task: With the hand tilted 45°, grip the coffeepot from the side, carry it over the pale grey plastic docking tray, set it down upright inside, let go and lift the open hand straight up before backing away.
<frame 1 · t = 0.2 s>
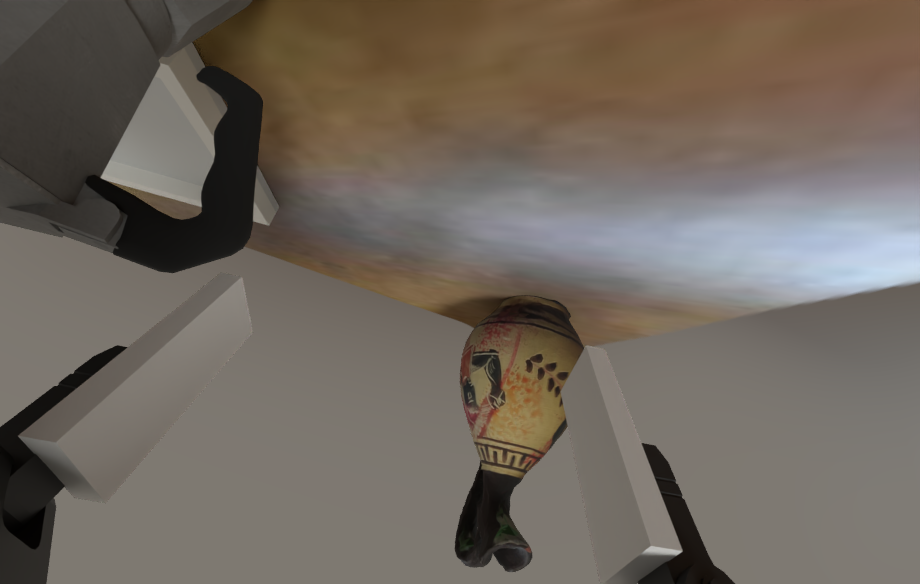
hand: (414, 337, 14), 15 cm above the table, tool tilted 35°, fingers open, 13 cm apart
ceramic jug: (527, 309, 48), on the table
docking tray: (91, 100, 28), on the table
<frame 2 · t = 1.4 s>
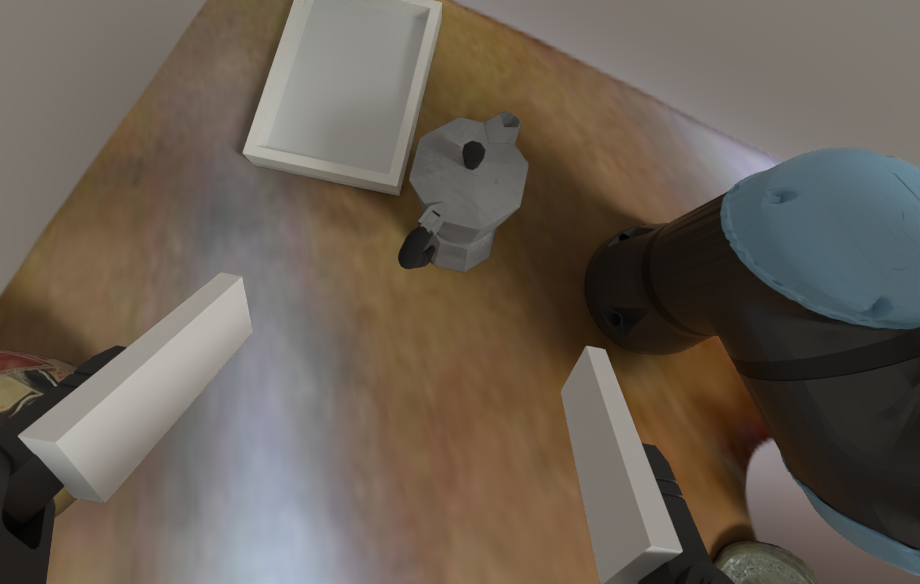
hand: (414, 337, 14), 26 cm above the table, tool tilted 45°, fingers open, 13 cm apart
coffeepot: (451, 242, 42), on the table
ceramic jug: (72, 424, 35), on the table
docking tray: (353, 88, 44), on the table
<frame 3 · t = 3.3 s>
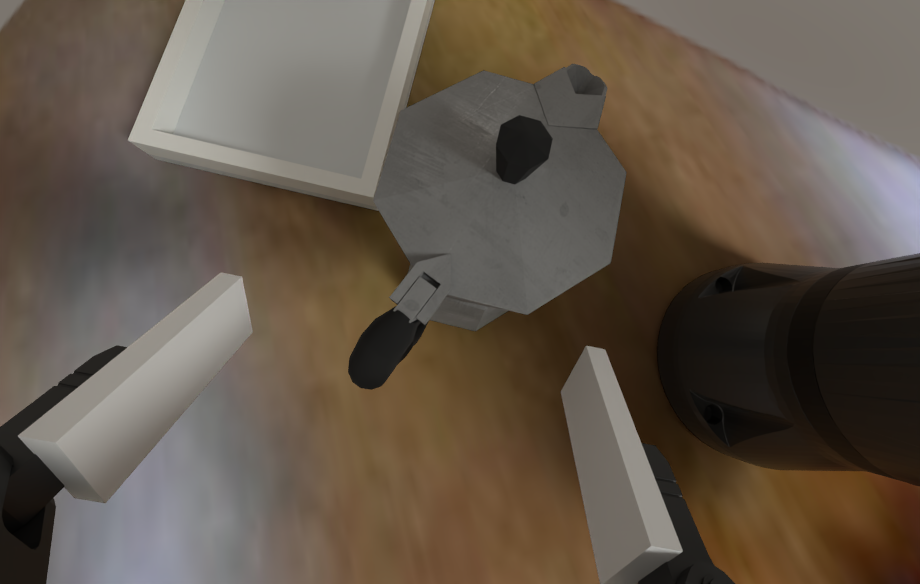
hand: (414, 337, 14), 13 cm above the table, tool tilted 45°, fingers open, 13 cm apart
coffeepot: (457, 283, 27), on the table
docking tray: (313, 47, 29), on the table
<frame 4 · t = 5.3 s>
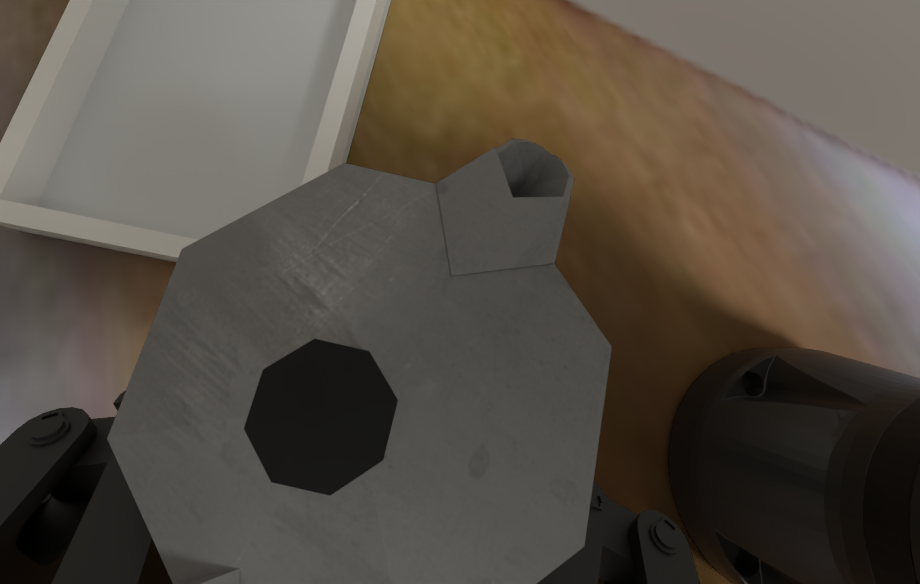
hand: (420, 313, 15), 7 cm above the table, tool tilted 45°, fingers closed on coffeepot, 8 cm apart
coffeepot: (411, 381, 21), on the table, touching gripper
docking tray: (232, 82, 24), on the table
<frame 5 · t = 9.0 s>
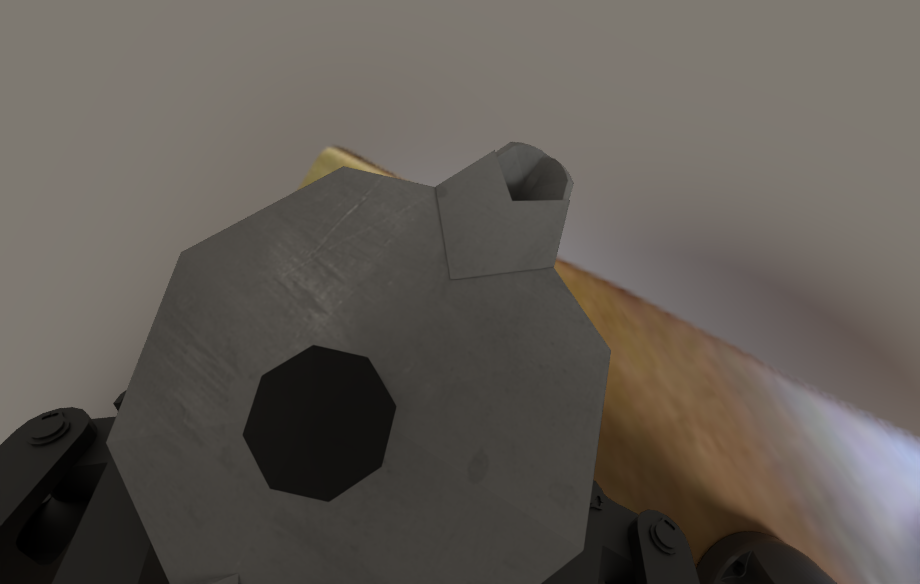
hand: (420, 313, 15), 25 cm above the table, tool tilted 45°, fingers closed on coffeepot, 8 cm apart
coffeepot: (411, 383, 21), point 18 cm above the table, touching gripper
when the fingers open (9 cm above the table, at t = 12.5 s): coffeepot drops 1 cm, resting on docking tray.
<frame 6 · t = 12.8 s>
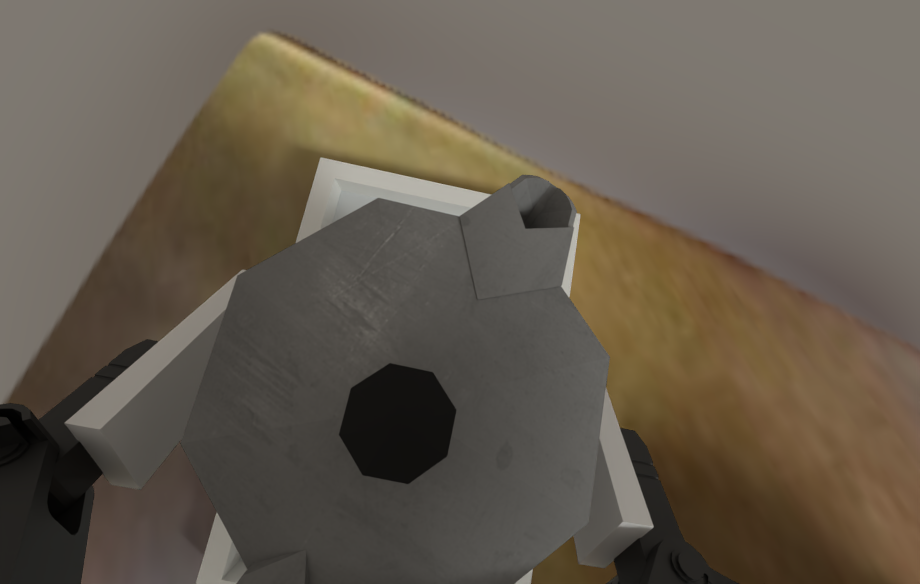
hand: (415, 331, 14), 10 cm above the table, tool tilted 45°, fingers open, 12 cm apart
coffeepot: (413, 381, 22), point 1 cm above the table, touching docking tray
docking tray: (413, 379, 23), on the table
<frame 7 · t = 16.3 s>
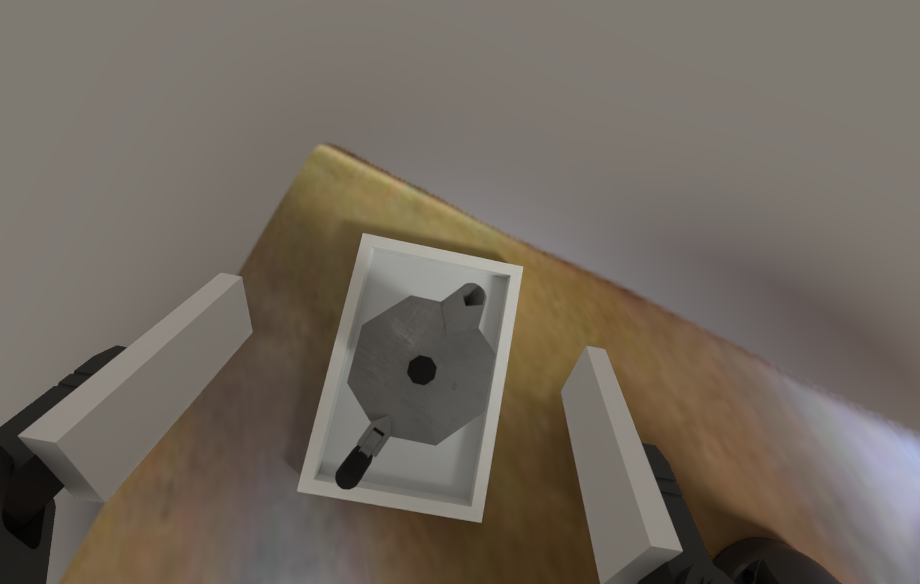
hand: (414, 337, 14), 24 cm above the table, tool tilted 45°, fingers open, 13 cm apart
coffeepot: (419, 370, 37), point 1 cm above the table, touching docking tray
docking tray: (419, 368, 37), on the table
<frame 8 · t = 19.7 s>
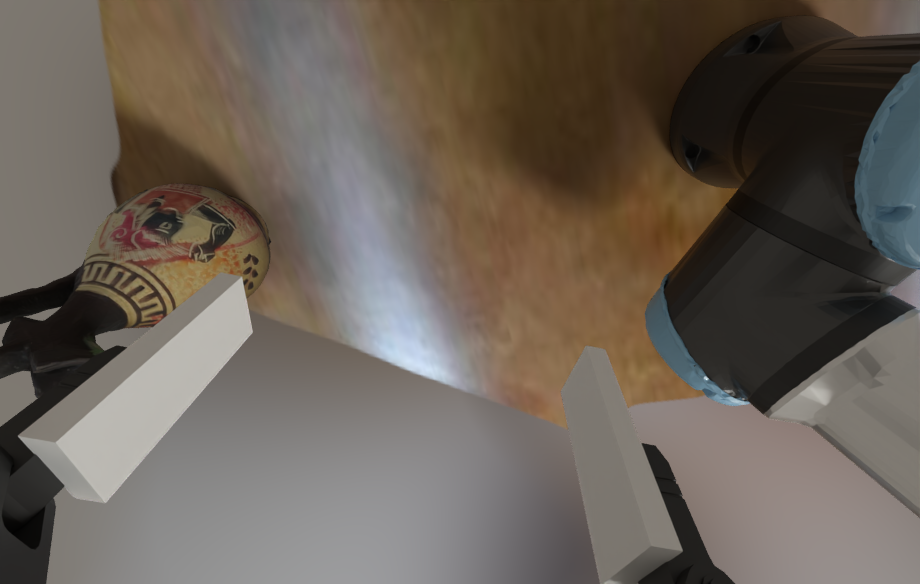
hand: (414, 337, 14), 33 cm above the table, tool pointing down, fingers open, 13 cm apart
ceramic jug: (230, 221, 48), on the table
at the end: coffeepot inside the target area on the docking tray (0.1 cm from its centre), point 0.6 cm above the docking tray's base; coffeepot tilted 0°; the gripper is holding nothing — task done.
